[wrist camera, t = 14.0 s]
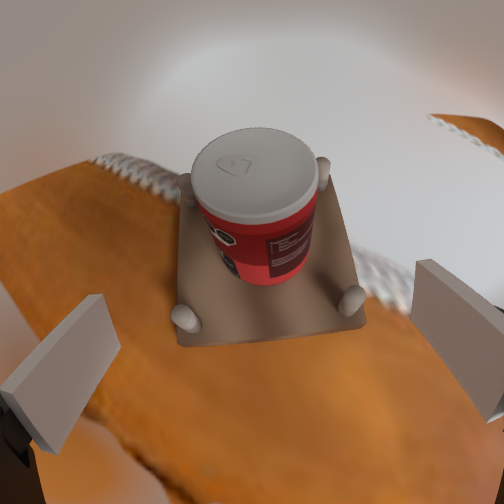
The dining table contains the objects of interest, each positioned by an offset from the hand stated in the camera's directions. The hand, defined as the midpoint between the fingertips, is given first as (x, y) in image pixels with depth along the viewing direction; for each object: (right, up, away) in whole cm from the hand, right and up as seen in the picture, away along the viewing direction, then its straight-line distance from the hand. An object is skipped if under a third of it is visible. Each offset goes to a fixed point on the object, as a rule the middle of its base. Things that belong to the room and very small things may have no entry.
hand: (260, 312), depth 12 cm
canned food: (+1, +2, +16) cm, 16 cm away
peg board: (+1, +2, +18) cm, 18 cm away
